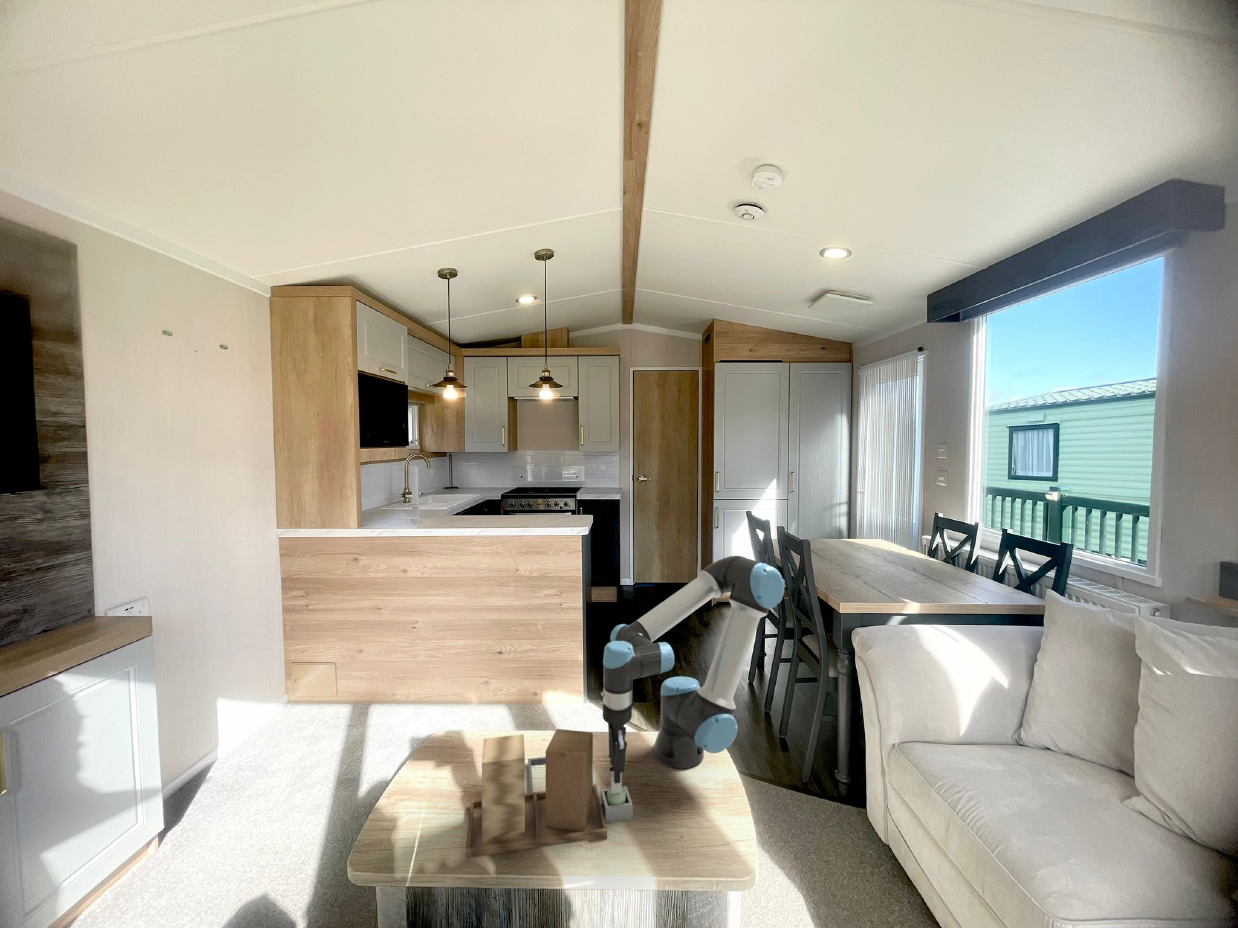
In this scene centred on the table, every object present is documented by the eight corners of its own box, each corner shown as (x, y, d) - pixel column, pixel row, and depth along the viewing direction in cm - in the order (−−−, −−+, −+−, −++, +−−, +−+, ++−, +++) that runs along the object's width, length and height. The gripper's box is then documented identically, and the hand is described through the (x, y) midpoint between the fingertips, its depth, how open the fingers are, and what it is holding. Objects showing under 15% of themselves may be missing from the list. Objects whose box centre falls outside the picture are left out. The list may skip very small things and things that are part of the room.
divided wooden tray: (595, 791, 144) (595, 784, 144) (607, 838, 127) (607, 830, 127) (471, 808, 137) (470, 800, 137) (465, 860, 120) (465, 851, 120)
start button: (623, 797, 139) (623, 784, 139) (627, 810, 134) (627, 797, 134) (605, 799, 138) (605, 787, 138) (609, 812, 133) (609, 799, 133)
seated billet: (523, 808, 136) (523, 734, 135) (524, 837, 126) (524, 757, 125) (484, 813, 134) (483, 738, 133) (482, 843, 124) (481, 762, 123)
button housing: (626, 800, 140) (626, 786, 140) (632, 819, 134) (632, 804, 133) (600, 803, 139) (600, 789, 139) (605, 823, 132) (605, 807, 132)
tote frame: (580, 757, 159) (580, 752, 159) (588, 792, 143) (588, 787, 143) (527, 763, 156) (527, 758, 155) (530, 800, 140) (530, 794, 140)
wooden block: (584, 833, 128) (584, 754, 127) (544, 828, 129) (545, 750, 128) (592, 804, 138) (593, 731, 137) (556, 800, 139) (556, 727, 138)
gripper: (598, 692, 140) (597, 776, 141) (607, 718, 127) (606, 810, 129) (626, 689, 142) (624, 773, 143) (637, 715, 129) (635, 806, 130)
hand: (615, 791), depth 136 cm, fingers closed
